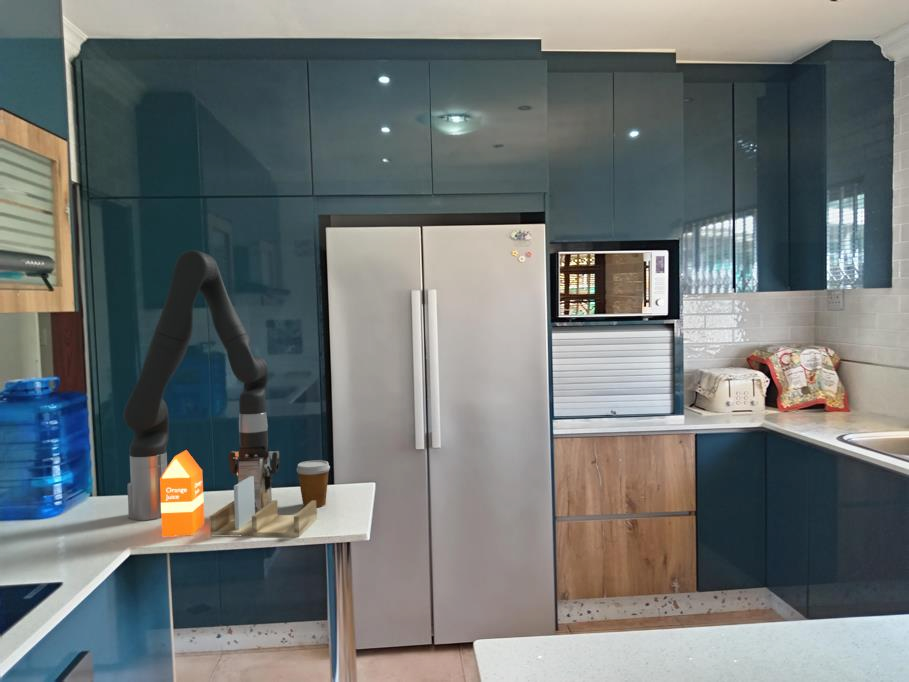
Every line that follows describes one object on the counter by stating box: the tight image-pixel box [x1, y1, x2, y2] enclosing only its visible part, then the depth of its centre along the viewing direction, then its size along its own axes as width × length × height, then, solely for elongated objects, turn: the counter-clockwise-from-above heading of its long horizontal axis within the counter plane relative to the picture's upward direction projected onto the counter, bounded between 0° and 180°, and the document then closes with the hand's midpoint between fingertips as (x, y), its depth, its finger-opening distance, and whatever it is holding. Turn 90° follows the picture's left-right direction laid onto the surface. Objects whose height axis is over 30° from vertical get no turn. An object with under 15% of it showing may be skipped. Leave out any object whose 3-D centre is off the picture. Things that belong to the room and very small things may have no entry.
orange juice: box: [160, 449, 205, 537], centre depth 165 cm, size 8×9×20 cm
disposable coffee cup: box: [295, 459, 331, 508], centre depth 185 cm, size 10×10×12 cm
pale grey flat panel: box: [233, 476, 255, 530], centre depth 166 cm, size 1×10×11 cm, turn 174°
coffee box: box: [237, 456, 273, 513], centre depth 178 cm, size 9×6×16 cm
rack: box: [209, 499, 318, 538], centre depth 166 cm, size 23×14×5 cm, turn 85°
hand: (255, 488), depth 179 cm, fingers closed on coffee box, 6 cm apart
